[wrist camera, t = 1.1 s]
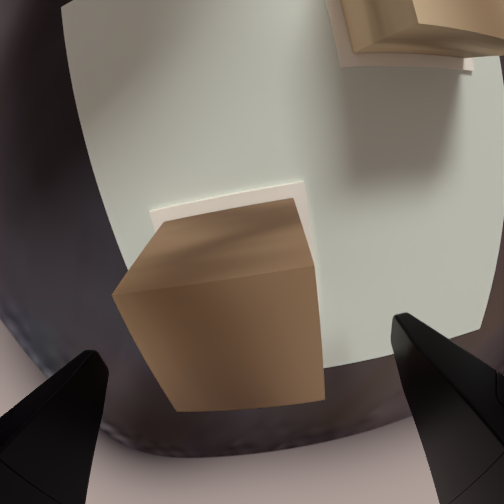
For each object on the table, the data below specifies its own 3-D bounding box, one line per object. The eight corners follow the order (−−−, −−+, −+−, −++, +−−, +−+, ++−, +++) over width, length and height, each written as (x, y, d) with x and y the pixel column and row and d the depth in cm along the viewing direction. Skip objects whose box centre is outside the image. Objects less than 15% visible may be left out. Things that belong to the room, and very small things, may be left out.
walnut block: (293, 197, 11) (314, 265, 7) (308, 307, 13) (325, 399, 9) (163, 221, 12) (111, 295, 7) (198, 322, 14) (176, 411, 9)
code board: (465, -36, 6) (474, -41, 5) (475, 322, 15) (481, 331, 14) (68, 9, 8) (57, 6, 7) (183, 375, 17) (180, 385, 16)
